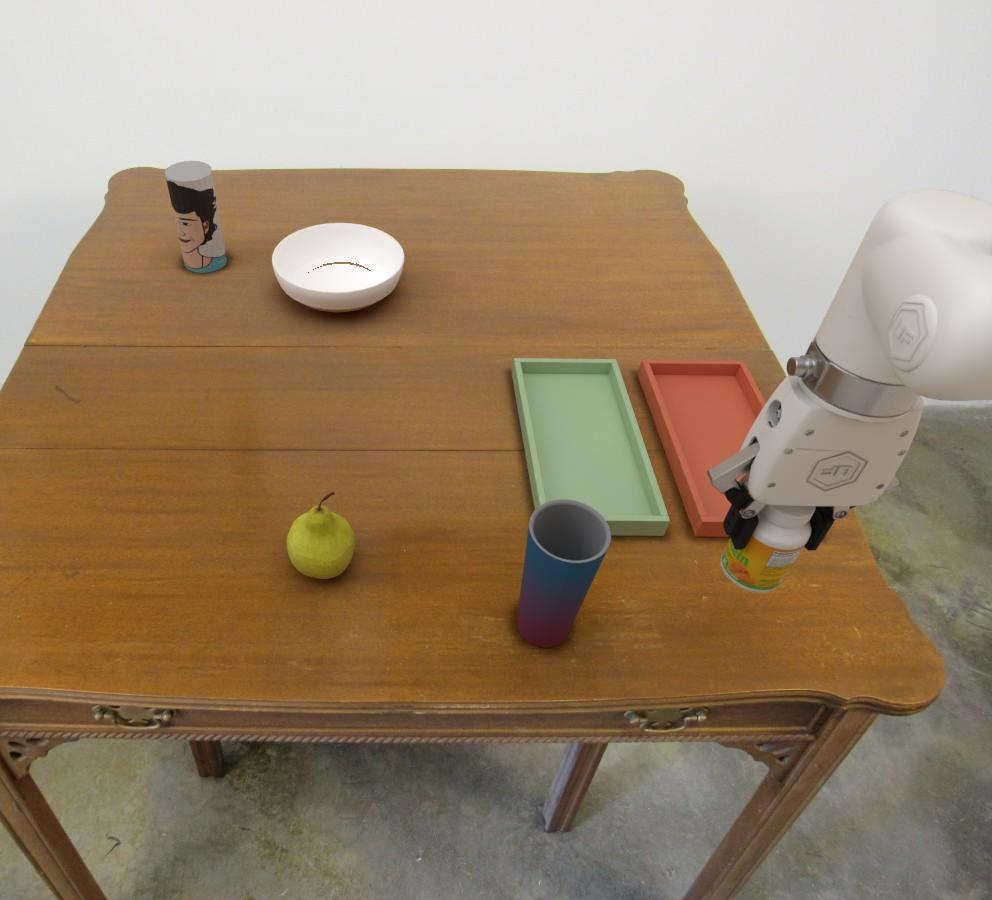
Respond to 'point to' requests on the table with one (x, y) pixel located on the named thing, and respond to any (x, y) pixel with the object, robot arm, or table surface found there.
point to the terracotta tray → (701, 426)
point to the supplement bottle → (769, 548)
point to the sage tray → (587, 442)
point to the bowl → (338, 266)
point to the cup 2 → (559, 568)
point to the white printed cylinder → (196, 215)
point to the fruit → (320, 543)
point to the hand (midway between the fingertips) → (769, 536)
